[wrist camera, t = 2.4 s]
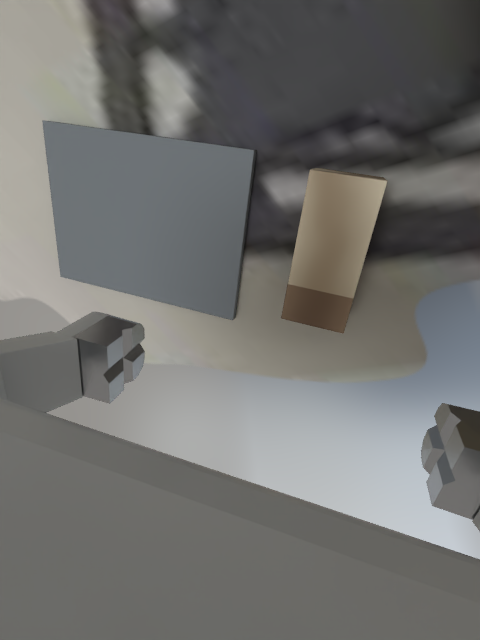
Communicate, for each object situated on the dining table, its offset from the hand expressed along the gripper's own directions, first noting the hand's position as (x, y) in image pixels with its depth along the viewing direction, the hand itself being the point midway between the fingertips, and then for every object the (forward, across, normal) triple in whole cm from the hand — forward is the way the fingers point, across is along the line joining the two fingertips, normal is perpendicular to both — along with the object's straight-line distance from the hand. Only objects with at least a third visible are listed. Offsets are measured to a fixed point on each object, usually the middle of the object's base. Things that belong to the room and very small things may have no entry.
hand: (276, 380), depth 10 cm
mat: (+16, +13, +1) cm, 21 cm away
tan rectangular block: (+16, -1, 0) cm, 16 cm away
